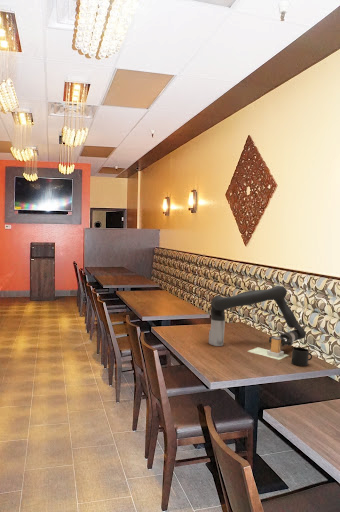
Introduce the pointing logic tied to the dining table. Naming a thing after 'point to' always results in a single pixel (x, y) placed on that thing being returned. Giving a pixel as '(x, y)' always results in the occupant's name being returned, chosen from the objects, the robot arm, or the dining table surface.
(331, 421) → the dining table surface
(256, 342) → the dining table surface
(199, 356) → the dining table surface
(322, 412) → the dining table surface
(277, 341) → the orange cylinder
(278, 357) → the pale green base plate
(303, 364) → the mug
